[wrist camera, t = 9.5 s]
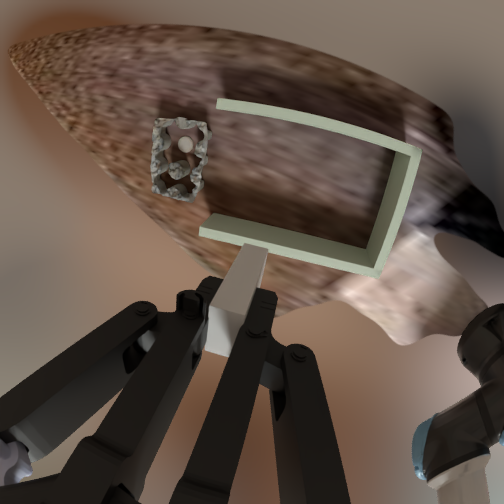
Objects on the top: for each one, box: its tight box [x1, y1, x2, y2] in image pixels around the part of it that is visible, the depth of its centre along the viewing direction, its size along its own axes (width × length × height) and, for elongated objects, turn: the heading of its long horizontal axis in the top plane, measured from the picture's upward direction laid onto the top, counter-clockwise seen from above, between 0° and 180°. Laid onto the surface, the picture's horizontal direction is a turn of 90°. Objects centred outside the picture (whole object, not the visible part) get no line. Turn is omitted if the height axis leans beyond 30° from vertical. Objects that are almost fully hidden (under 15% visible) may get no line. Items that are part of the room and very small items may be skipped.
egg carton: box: [151, 117, 212, 203], centre depth 34 cm, size 11×8×4 cm
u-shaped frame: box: [199, 98, 422, 279], centre depth 32 cm, size 23×16×6 cm
